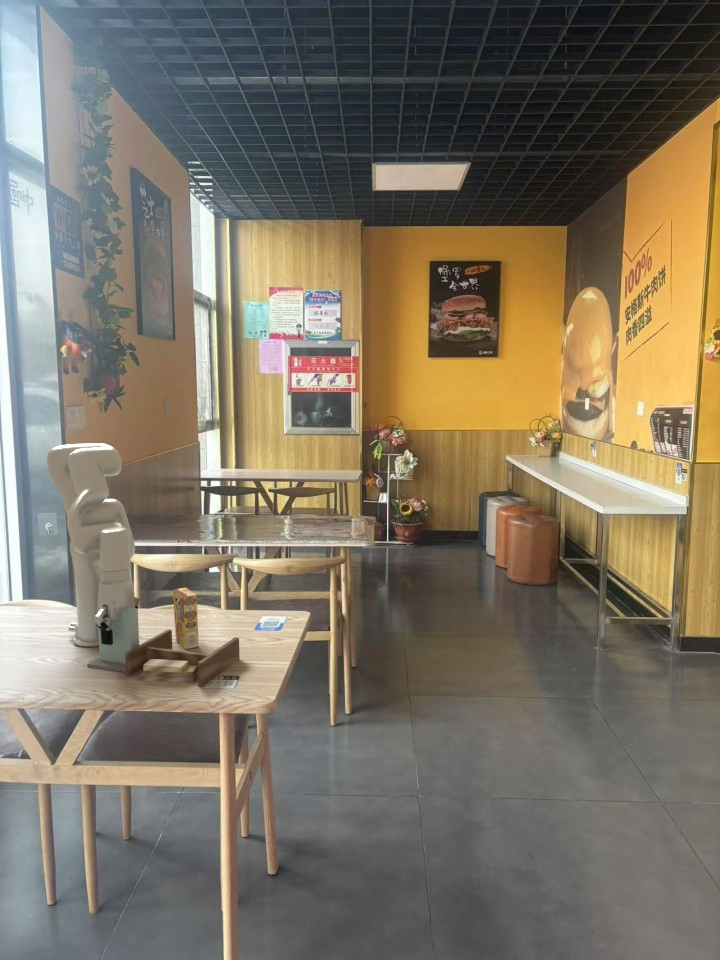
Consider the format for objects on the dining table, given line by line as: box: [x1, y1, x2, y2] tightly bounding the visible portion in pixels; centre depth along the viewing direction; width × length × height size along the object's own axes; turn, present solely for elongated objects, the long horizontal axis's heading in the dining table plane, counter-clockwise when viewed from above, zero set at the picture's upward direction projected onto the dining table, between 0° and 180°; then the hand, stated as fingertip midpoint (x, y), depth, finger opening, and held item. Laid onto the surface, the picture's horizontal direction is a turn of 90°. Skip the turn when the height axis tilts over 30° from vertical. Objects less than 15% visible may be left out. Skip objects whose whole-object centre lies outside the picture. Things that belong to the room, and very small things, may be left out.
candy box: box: [172, 587, 199, 650], centre depth 204 cm, size 9×4×15 cm, turn 33°
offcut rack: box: [125, 629, 241, 688], centre depth 187 cm, size 22×19×6 cm
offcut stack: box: [138, 659, 198, 684], centre depth 181 cm, size 14×5×4 cm, turn 84°
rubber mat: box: [86, 656, 126, 673], centre depth 191 cm, size 13×10×1 cm
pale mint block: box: [97, 608, 140, 664], centre depth 190 cm, size 10×4×14 cm, turn 72°
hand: (119, 638), depth 190 cm, fingers open, 9 cm apart
